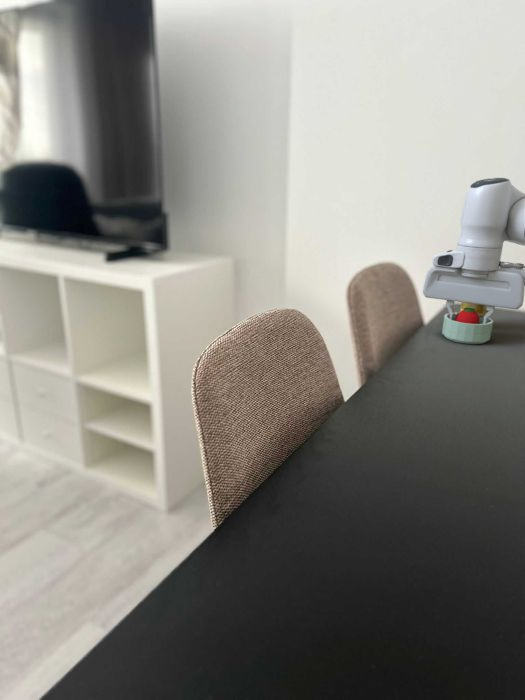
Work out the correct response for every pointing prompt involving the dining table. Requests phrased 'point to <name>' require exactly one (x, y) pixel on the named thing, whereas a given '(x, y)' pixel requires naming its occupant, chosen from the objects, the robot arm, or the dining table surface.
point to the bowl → (466, 331)
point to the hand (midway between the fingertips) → (467, 322)
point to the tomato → (468, 316)
